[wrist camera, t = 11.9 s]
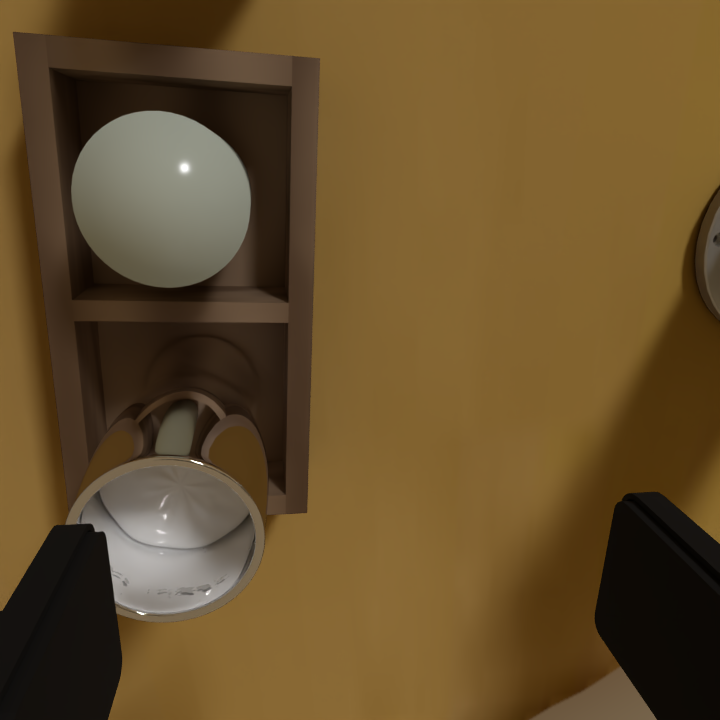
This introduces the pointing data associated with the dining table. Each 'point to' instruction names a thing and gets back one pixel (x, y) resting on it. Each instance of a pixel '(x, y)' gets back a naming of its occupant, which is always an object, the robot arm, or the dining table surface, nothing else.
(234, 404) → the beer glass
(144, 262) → the grey rounded piece
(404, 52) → the dining table surface
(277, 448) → the carrier
